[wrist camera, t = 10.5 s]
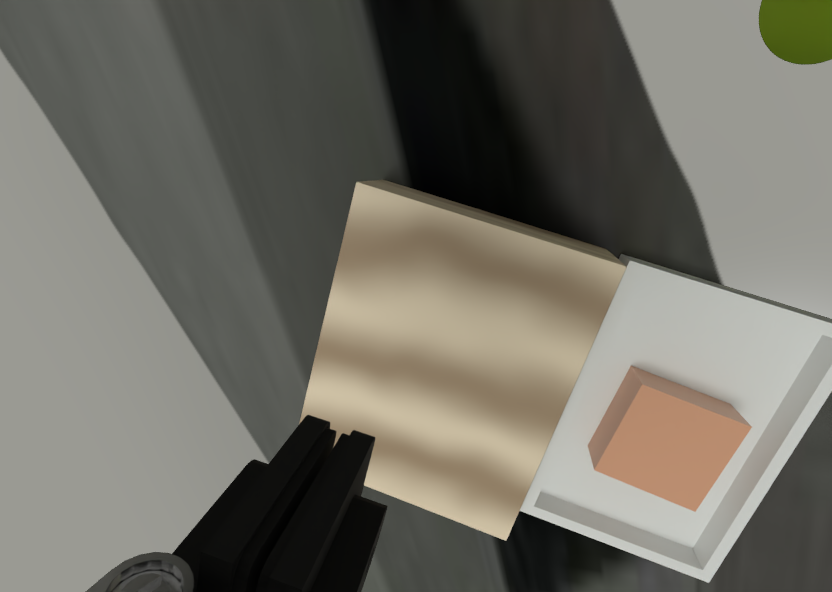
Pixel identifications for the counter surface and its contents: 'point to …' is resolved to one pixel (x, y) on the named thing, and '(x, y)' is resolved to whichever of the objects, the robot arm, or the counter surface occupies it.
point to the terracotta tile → (666, 438)
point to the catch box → (699, 370)
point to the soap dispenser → (797, 29)
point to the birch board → (455, 347)
